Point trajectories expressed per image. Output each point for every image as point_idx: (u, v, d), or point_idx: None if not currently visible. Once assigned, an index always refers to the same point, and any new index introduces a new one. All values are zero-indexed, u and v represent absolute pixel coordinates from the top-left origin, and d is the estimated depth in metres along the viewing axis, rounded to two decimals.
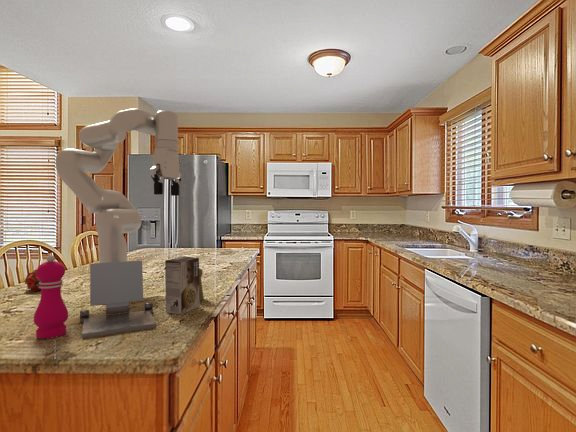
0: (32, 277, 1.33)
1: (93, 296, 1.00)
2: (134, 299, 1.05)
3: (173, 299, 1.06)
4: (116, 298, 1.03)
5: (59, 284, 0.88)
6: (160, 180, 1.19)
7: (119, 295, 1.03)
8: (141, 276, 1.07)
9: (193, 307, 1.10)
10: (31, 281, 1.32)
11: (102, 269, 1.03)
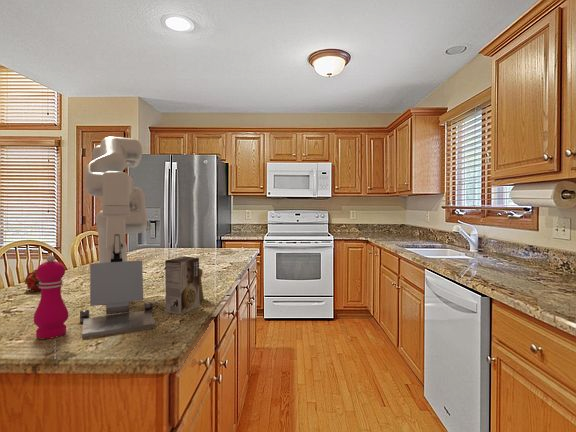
0: (32, 277, 1.33)
1: (93, 296, 1.00)
2: (134, 299, 1.05)
3: (173, 299, 1.06)
4: (116, 298, 1.03)
5: (59, 284, 0.88)
6: None
7: (119, 295, 1.03)
8: (141, 276, 1.07)
9: (193, 307, 1.10)
10: (31, 281, 1.32)
11: (102, 269, 1.03)
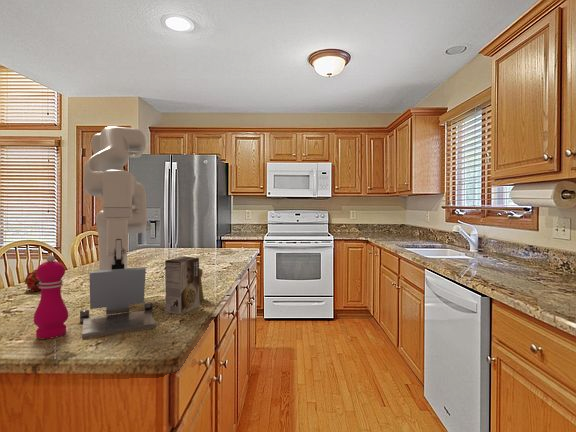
0: (32, 277, 1.33)
1: (93, 301, 0.98)
2: (134, 302, 1.03)
3: (173, 299, 1.06)
4: (116, 302, 1.01)
5: (59, 284, 0.88)
6: None
7: (119, 299, 1.01)
8: (143, 283, 1.02)
9: (193, 307, 1.10)
10: (31, 281, 1.32)
11: (102, 278, 0.96)
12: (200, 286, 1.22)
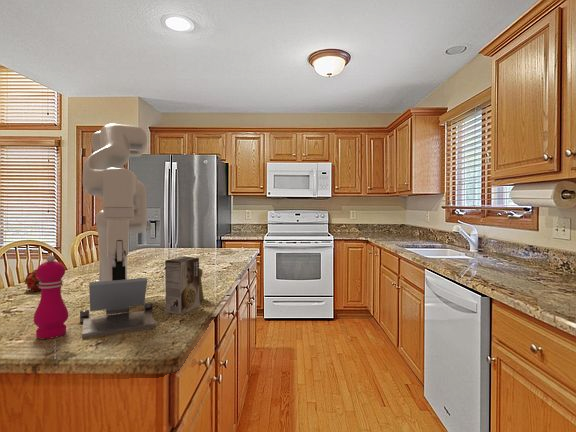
0: (32, 277, 1.33)
1: (93, 305, 0.97)
2: (135, 305, 1.03)
3: (173, 299, 1.06)
4: (116, 305, 1.00)
5: (59, 284, 0.88)
6: None
7: (120, 303, 1.00)
8: (144, 291, 1.00)
9: (193, 307, 1.10)
10: (31, 281, 1.32)
11: (102, 288, 0.93)
12: (200, 286, 1.22)
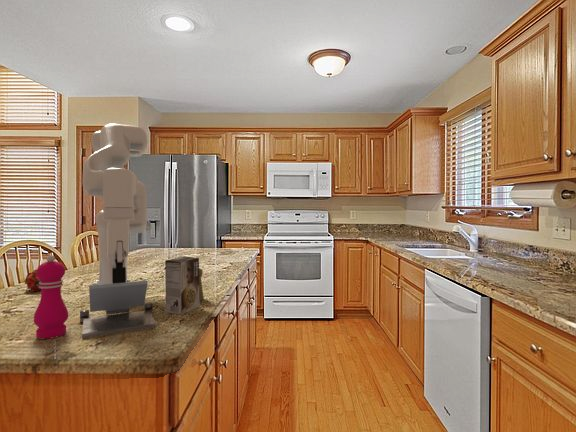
0: (32, 277, 1.33)
1: (93, 307, 0.96)
2: (135, 305, 1.03)
3: (173, 299, 1.06)
4: (117, 306, 1.00)
5: (59, 284, 0.88)
6: (124, 265, 0.94)
7: (120, 304, 1.00)
8: (144, 293, 1.00)
9: (193, 307, 1.10)
10: (31, 281, 1.32)
11: (102, 291, 0.93)
12: (200, 286, 1.22)
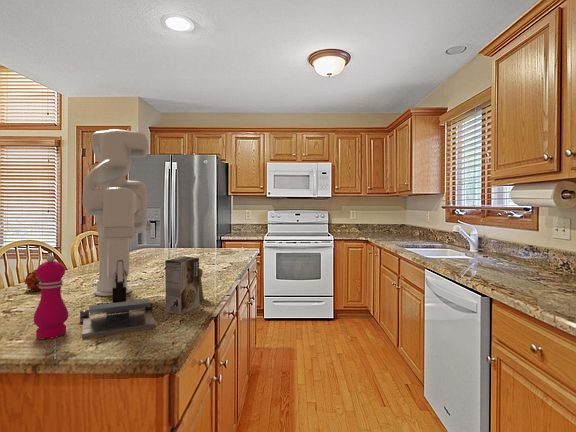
0: (32, 277, 1.33)
1: (93, 313, 0.96)
2: None
3: (173, 299, 1.06)
4: (117, 311, 1.00)
5: (59, 284, 0.88)
6: (125, 285, 0.93)
7: (120, 310, 0.99)
8: (145, 305, 0.98)
9: (193, 307, 1.10)
10: (31, 281, 1.32)
11: (102, 309, 0.91)
12: (200, 286, 1.22)
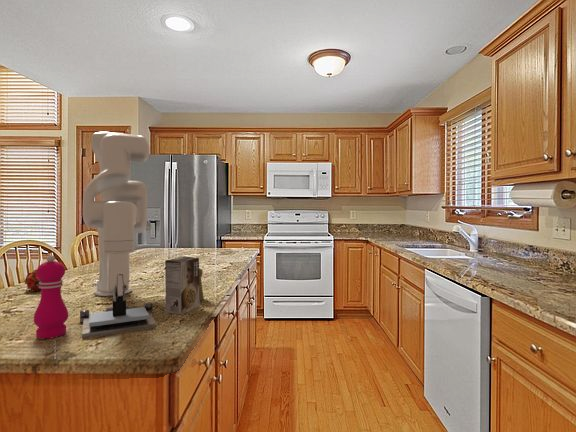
0: (32, 277, 1.33)
1: None
2: None
3: (173, 299, 1.06)
4: None
5: (59, 284, 0.88)
6: None
7: None
8: None
9: (193, 307, 1.10)
10: (31, 281, 1.32)
11: None
12: (200, 286, 1.22)
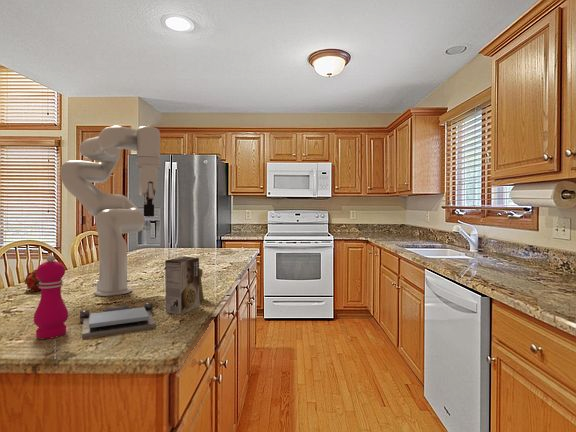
0: (32, 277, 1.33)
1: None
2: None
3: (173, 299, 1.06)
4: None
5: (59, 284, 0.88)
6: None
7: None
8: None
9: (193, 307, 1.10)
10: (31, 281, 1.32)
11: None
12: (200, 286, 1.22)
